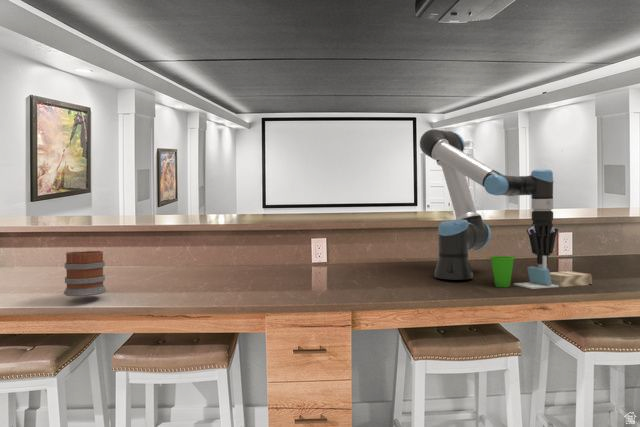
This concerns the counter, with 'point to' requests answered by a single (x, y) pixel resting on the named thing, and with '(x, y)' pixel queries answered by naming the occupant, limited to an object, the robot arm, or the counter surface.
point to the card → (539, 276)
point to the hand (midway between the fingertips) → (542, 272)
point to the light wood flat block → (570, 278)
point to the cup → (502, 270)
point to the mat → (534, 285)
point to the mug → (84, 273)
